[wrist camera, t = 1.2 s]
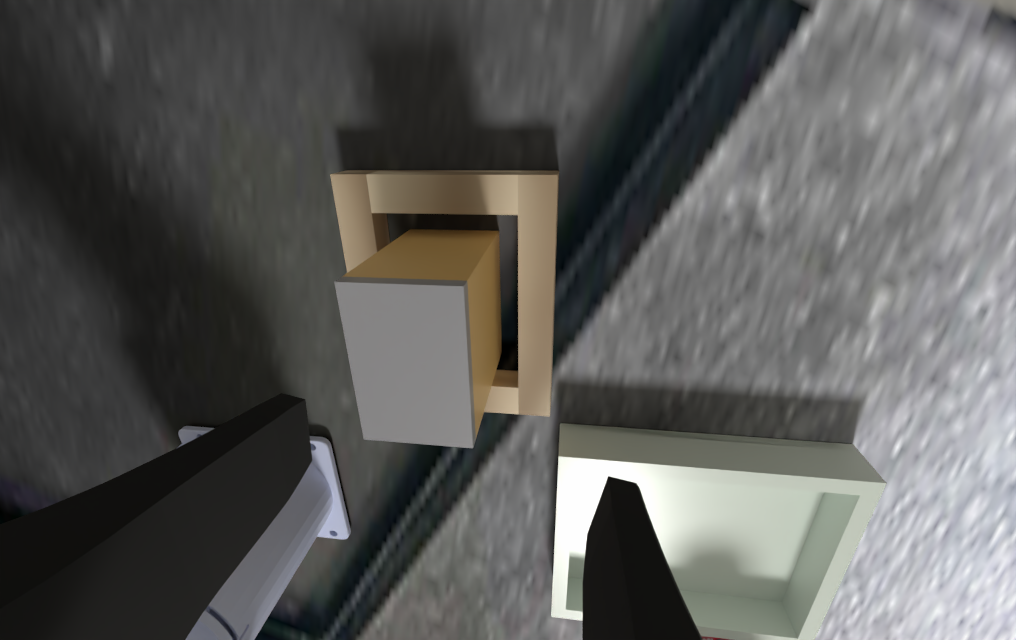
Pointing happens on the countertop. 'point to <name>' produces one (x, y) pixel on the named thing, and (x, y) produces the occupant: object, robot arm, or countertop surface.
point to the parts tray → (723, 521)
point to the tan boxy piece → (424, 335)
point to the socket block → (483, 193)
